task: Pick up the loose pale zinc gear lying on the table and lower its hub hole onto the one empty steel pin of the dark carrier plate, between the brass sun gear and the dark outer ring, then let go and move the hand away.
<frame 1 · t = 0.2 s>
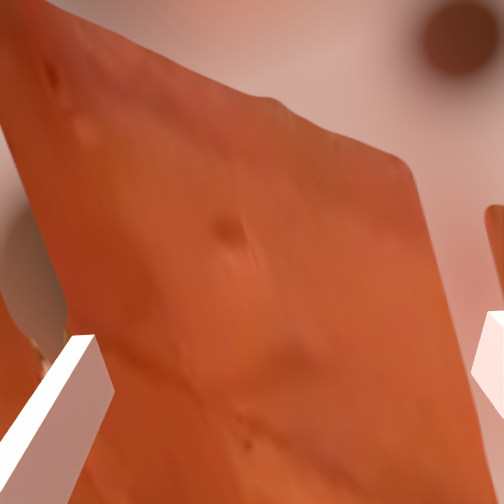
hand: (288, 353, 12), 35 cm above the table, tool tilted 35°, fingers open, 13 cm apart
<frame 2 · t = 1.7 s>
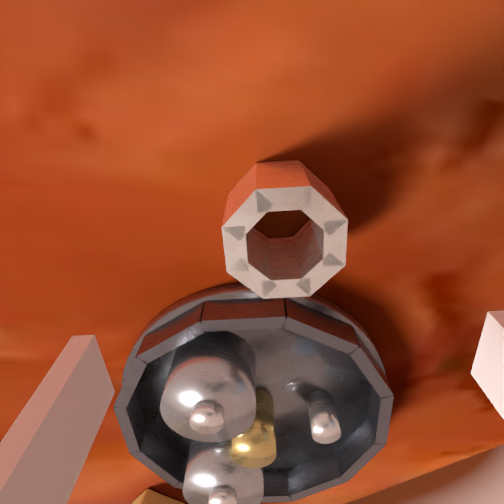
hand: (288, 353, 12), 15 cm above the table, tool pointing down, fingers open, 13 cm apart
loose gear: (278, 209, 26), on the table
carrier: (254, 389, 34), on the table
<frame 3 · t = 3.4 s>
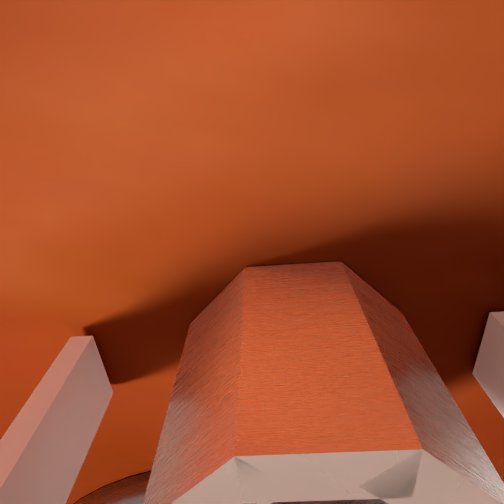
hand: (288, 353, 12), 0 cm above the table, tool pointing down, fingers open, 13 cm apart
loose gear: (295, 351, 12), on the table
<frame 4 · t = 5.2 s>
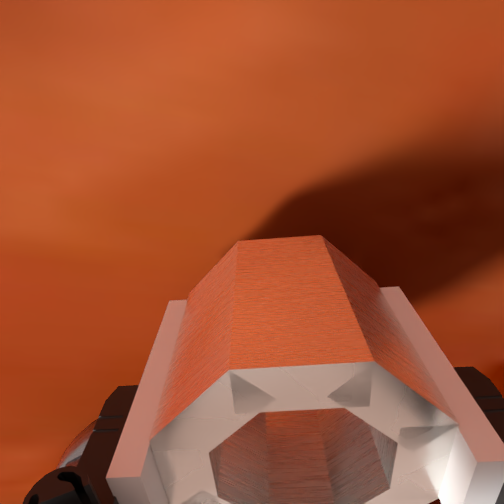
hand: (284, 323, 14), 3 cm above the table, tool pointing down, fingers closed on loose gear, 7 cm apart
loose gear: (282, 318, 14), point 2 cm above the table, touching gripper
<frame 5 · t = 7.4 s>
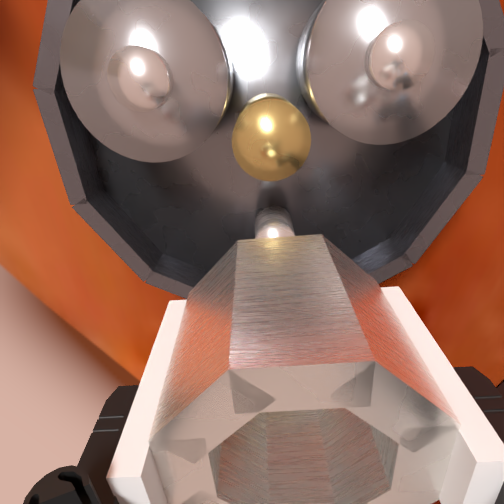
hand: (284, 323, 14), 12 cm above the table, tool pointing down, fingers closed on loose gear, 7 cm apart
loose gear: (283, 317, 14), point 12 cm above the table, touching gripper
carrier: (267, 123, 22), on the table
when the fingers open (2 cm above the table, at t = 9.5 s): loose gear stays where it is, resting on carrier.
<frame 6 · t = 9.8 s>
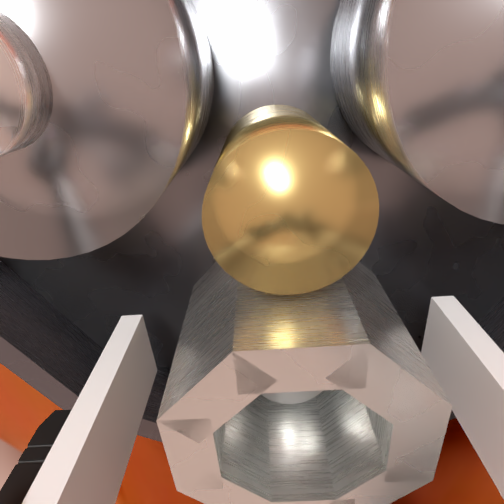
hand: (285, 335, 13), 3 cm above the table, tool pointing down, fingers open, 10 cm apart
loose gear: (284, 310, 14), point 1 cm above the table, touching carrier
carrier: (273, 153, 13), on the table
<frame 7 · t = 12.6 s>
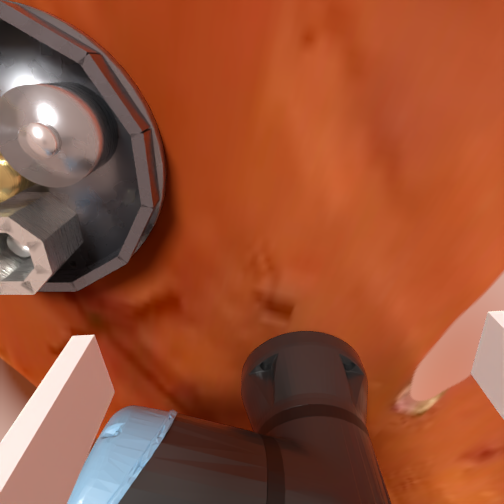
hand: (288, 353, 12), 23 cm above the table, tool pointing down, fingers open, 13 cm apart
loose gear: (43, 227, 34), point 1 cm above the table, touching carrier
carrier: (33, 160, 32), on the table
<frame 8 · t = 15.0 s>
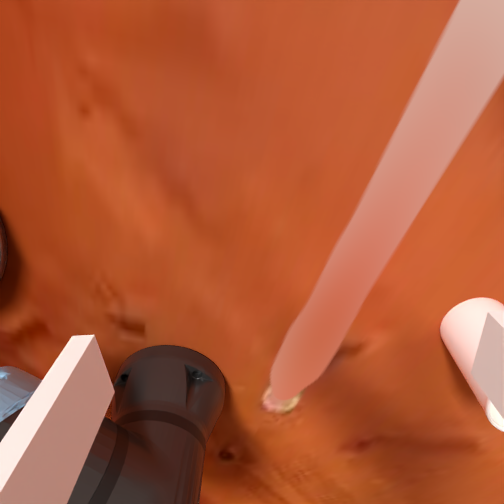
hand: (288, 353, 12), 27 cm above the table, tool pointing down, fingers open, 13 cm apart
white tapered cup: (471, 322, 45), on the table
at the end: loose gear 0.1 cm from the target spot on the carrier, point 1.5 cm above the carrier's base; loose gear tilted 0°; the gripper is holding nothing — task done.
